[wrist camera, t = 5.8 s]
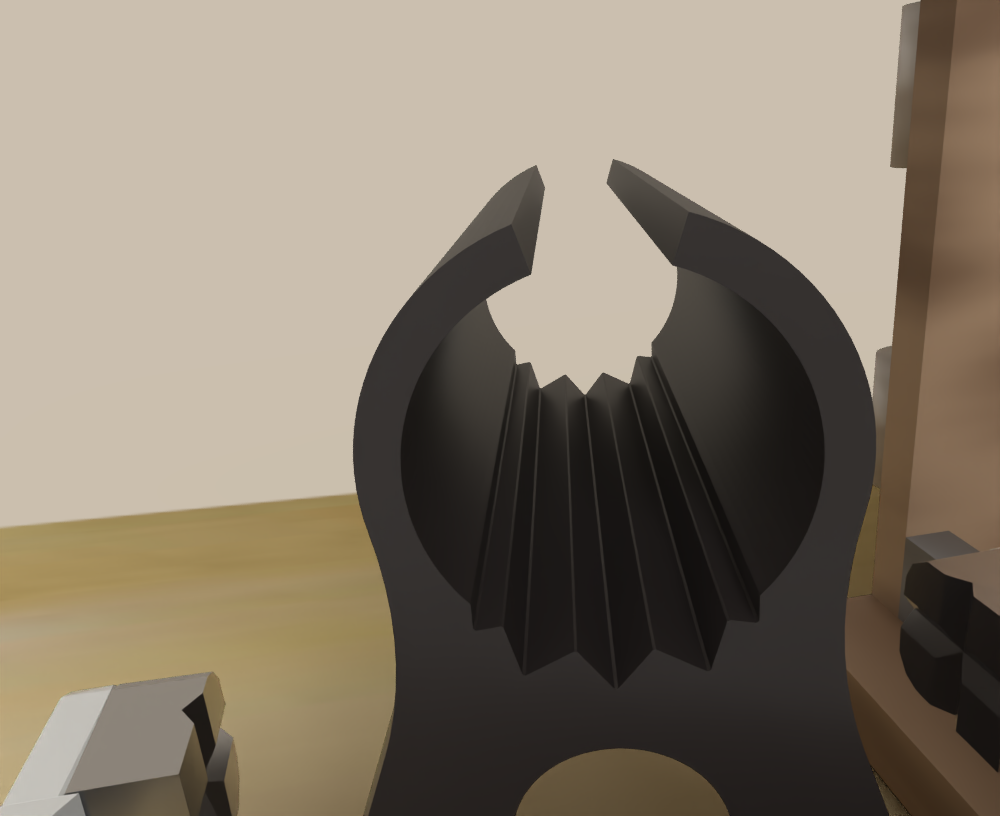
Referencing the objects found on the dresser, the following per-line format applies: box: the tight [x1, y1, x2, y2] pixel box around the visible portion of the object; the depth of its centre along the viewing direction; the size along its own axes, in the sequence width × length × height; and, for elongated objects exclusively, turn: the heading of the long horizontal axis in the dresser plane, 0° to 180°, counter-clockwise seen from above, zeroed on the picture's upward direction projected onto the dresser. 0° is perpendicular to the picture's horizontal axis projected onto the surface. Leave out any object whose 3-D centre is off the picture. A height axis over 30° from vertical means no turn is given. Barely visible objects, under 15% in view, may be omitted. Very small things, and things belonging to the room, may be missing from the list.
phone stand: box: [353, 159, 889, 816], centre depth 9 cm, size 9×6×12 cm, turn 86°
